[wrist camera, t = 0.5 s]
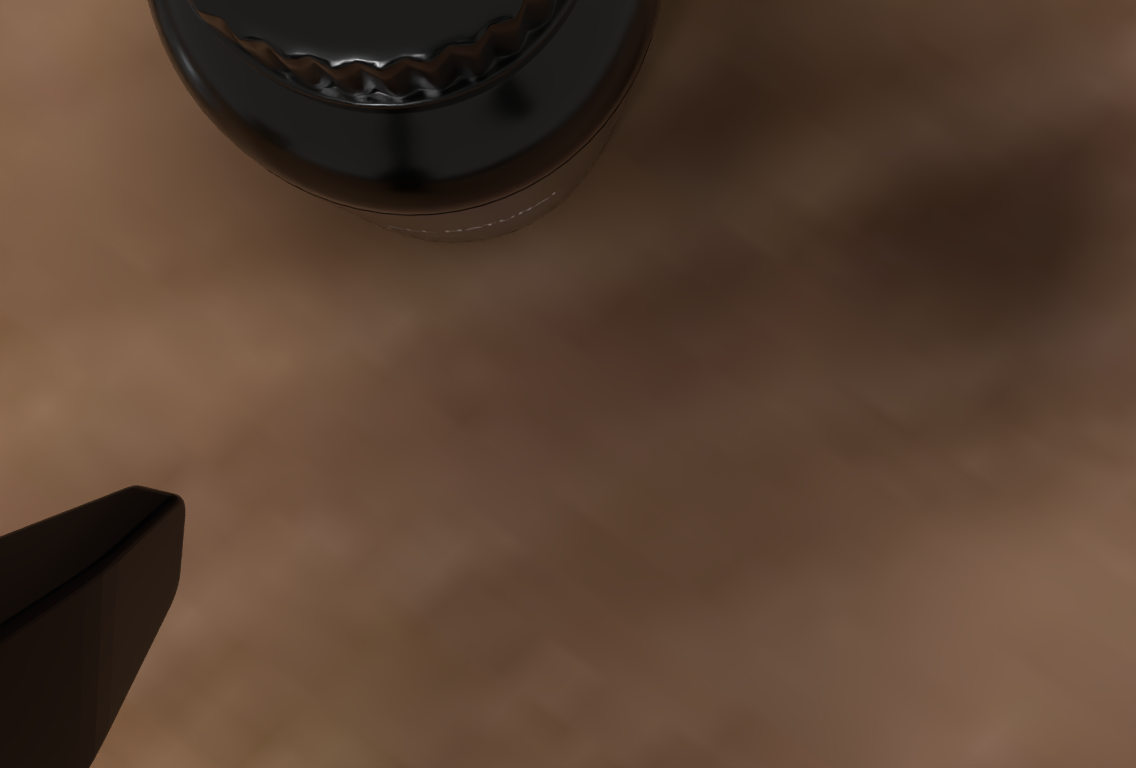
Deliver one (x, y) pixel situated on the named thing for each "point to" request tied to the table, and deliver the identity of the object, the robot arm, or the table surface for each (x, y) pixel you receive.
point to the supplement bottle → (415, 99)
